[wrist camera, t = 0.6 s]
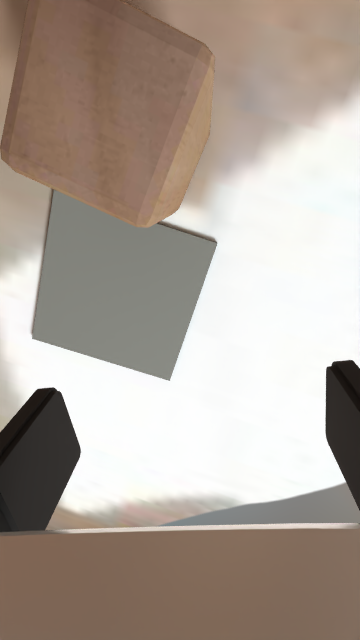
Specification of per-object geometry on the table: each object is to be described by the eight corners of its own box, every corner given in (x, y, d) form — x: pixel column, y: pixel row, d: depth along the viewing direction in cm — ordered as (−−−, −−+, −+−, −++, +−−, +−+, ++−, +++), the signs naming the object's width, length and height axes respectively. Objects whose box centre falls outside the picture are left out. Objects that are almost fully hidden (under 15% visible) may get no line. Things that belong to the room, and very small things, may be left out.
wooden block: (97, 179, 37) (-12, 162, 18) (126, 83, 33) (29, -57, 15) (176, 216, 38) (148, 235, 19) (213, 126, 34) (223, 44, 16)
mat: (56, 190, 38) (53, 189, 37) (217, 242, 39) (217, 243, 38) (34, 336, 45) (32, 338, 45) (170, 378, 46) (169, 380, 45)
